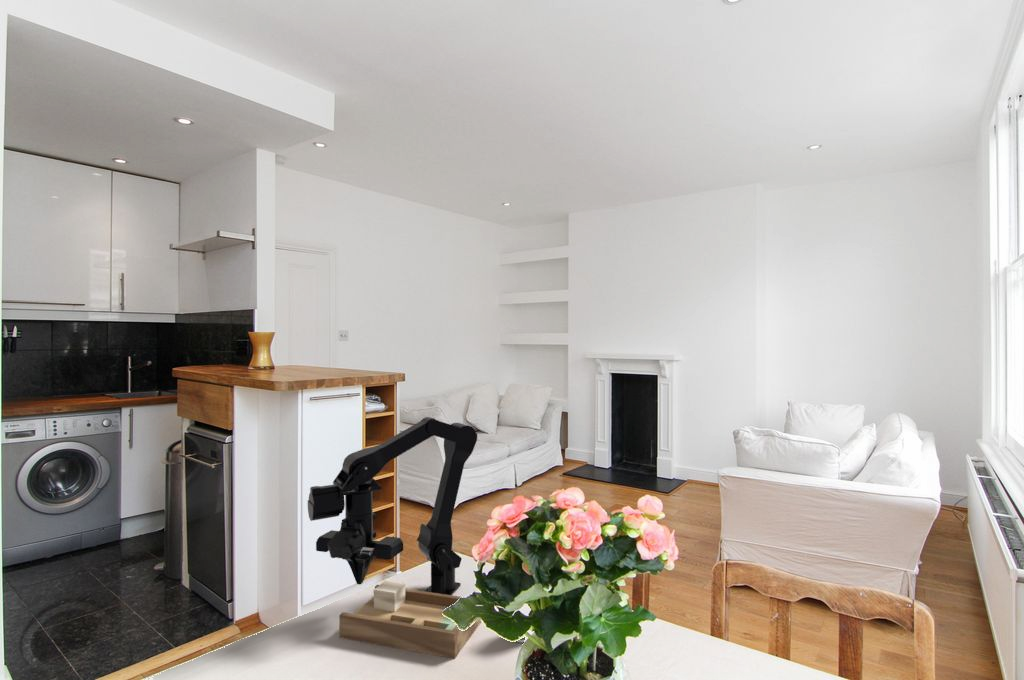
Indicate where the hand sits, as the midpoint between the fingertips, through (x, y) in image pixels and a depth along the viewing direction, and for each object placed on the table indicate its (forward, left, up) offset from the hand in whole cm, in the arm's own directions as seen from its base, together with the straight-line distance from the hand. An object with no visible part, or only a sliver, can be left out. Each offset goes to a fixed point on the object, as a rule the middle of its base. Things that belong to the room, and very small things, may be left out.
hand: (359, 583), depth 118 cm
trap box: (+3, +14, -6) cm, 16 cm away
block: (0, +7, -4) cm, 8 cm away
